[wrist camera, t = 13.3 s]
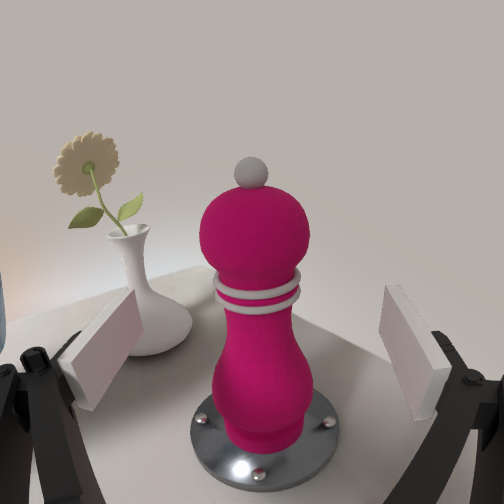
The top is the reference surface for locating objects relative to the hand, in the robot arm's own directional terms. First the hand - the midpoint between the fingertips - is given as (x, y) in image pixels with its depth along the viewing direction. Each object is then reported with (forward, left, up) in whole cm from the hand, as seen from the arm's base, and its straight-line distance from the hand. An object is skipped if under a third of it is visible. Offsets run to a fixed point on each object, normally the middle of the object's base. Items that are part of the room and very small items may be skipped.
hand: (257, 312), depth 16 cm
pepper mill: (0, +3, -13) cm, 13 cm away
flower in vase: (-16, +16, -14) cm, 27 cm away
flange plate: (0, +3, -14) cm, 14 cm away
